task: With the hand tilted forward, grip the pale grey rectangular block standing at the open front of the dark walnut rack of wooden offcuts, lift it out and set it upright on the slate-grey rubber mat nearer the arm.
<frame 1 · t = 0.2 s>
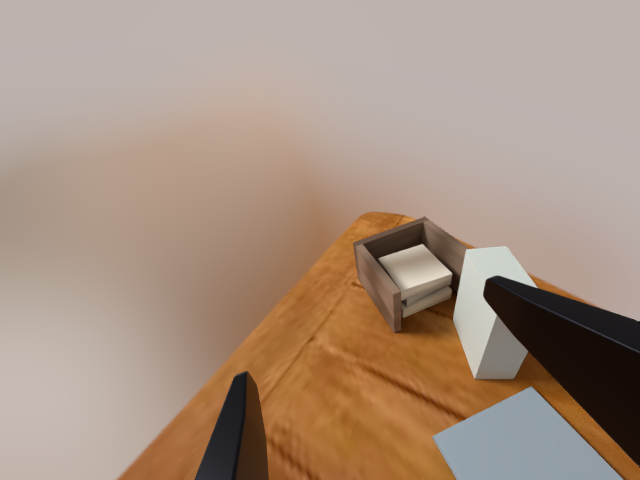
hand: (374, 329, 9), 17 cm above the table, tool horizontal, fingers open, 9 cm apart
offcut stack: (412, 291, 31), on the table
pale grey rectangular block: (479, 346, 25), on the table
rack: (412, 290, 31), on the table
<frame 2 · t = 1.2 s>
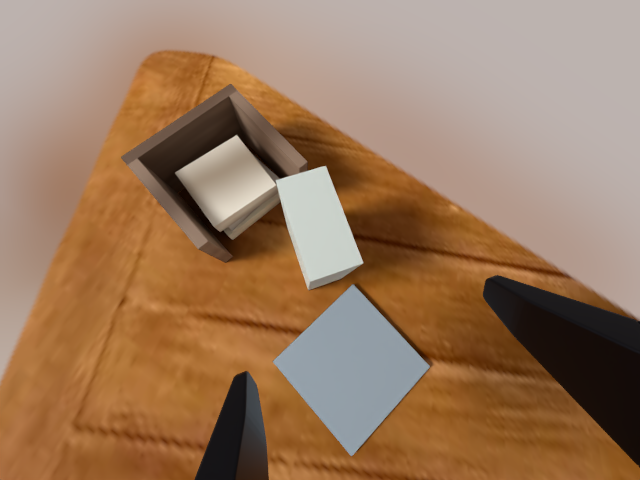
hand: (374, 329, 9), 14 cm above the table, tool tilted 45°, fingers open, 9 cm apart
offcut stack: (240, 198, 25), on the table
pale grey rectangular block: (313, 252, 24), on the table
mat: (351, 362, 22), on the table
rack: (239, 196, 24), on the table
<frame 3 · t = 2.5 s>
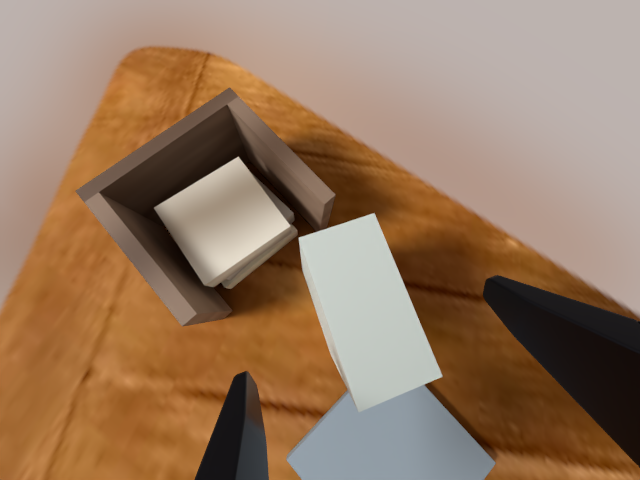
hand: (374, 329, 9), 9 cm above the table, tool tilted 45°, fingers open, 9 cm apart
offcut stack: (242, 232, 19), on the table
pale grey rectangular block: (336, 304, 18), on the table
mat: (390, 456, 16), on the table
rack: (241, 230, 19), on the table
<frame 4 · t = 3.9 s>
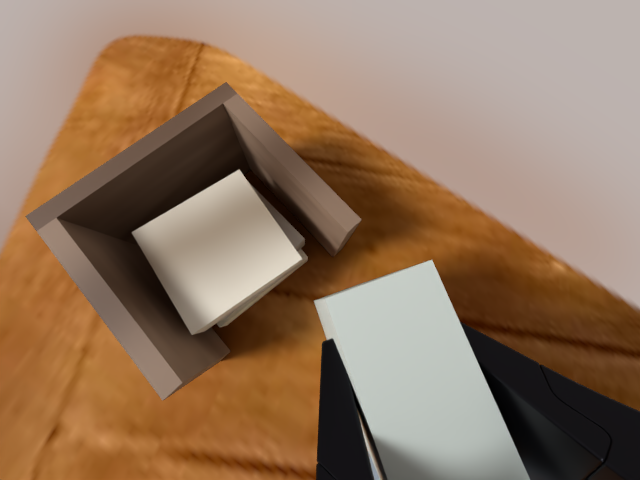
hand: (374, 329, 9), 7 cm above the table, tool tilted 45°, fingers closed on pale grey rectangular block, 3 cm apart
offcut stack: (241, 256, 16), on the table
pale grey rectangular block: (354, 341, 15), on the table, touching gripper
rack: (241, 253, 16), on the table
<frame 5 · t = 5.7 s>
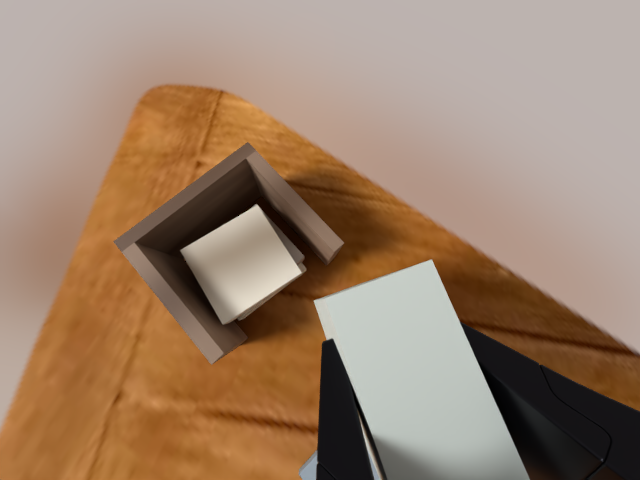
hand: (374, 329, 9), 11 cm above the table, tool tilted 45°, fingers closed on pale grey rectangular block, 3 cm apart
offcut stack: (255, 266, 21), on the table
pale grey rectangular block: (354, 341, 15), point 5 cm above the table, touching gripper
mat: (391, 470, 18), on the table
rack: (255, 262, 21), on the table
when the fingers open (8 cm above the table, at t = 7.7 s): pale grey rectangular block stays where it is, resting on mat.
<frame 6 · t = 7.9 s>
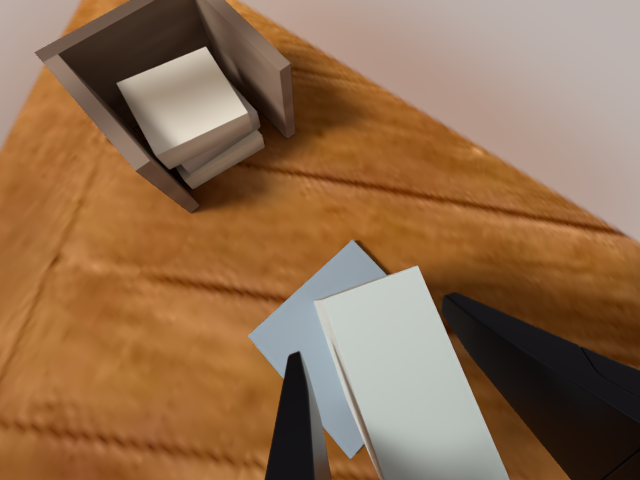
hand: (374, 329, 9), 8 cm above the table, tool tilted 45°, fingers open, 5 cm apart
offcut stack: (210, 140, 20), on the table
pale grey rectangular block: (351, 339, 16), resting on mat
mat: (350, 338, 17), on the table
rack: (210, 134, 20), on the table
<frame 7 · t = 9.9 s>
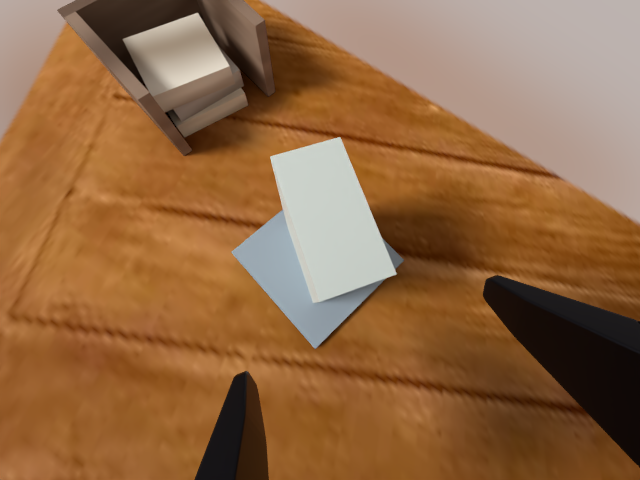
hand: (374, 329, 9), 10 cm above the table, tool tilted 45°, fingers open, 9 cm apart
offcut stack: (201, 98, 23), on the table
pale grey rectangular block: (319, 256, 19), resting on mat
mat: (318, 257, 20), on the table
rack: (202, 92, 23), on the table
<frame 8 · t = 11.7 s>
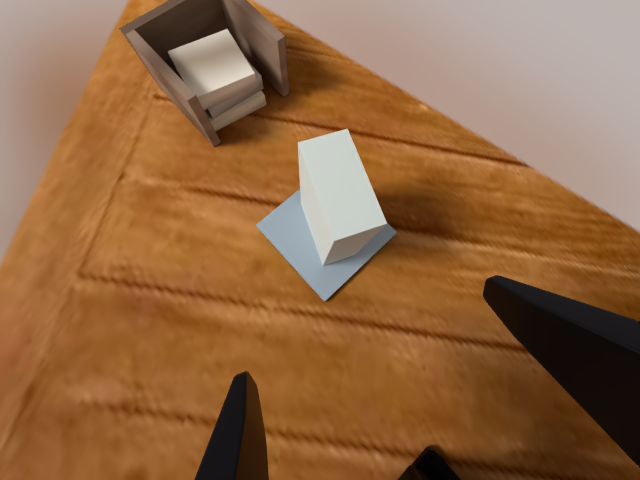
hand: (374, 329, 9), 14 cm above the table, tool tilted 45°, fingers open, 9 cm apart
offcut stack: (227, 99, 27), on the table
pale grey rectangular block: (327, 229, 24), resting on mat
mat: (326, 230, 24), on the table
rack: (228, 93, 27), on the table
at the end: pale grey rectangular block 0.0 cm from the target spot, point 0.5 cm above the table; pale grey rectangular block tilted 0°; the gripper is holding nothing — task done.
